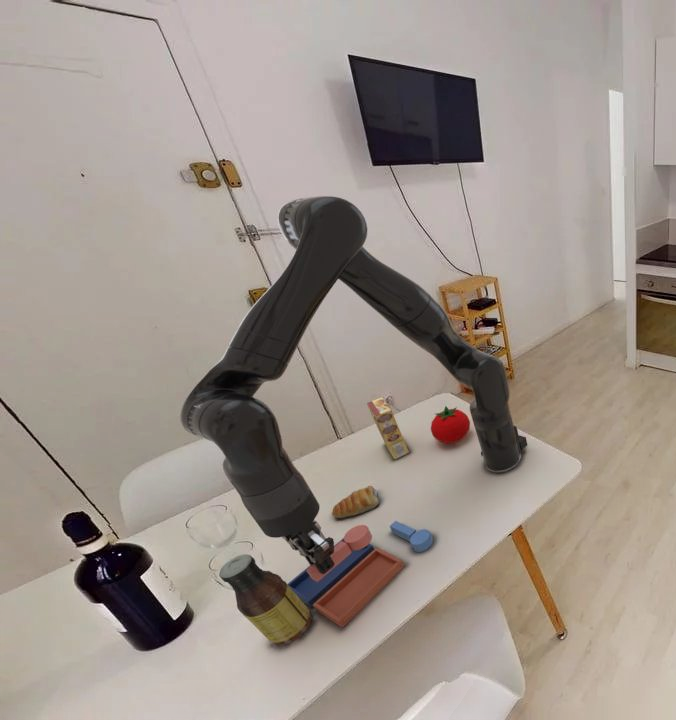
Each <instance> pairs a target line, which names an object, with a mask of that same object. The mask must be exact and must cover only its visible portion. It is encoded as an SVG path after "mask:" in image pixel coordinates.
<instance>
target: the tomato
mask: <svg viewBox="0 0 676 720" xmlns="http://www.w3.org/2000/svg"><path fill="white" fill-rule="evenodd" d="M457 408H458V406H456V407H454V408H449V407H447V405H445V407H444V409H443V410H442V411H440V412H437V413H435V416H434V418H433V419H432V421H431V424H430V432H431V435H432V437H433V438H434V439H435V440H437V441H438V442H439V443H443V444H454V443H458V442H459V441H460V440H463V438H465V437H466V436H467V434H468V433H469V431H470V427H471V421H470V418H469V417H468V415H467V413H465V412H464V411H462V410H461V409H457Z"/></svg>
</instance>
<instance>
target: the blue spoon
mask: <svg viewBox="0 0 676 720" xmlns="http://www.w3.org/2000/svg"><path fill="white" fill-rule="evenodd" d="M389 528H390V531H391V532H392V534H393V535H395V536H397V537H399V538H401V539H404V540H405V541H408V542H409V543H410V545H411V547H412V550H413V551H414V552H417V553H421V552H425V551H426V550H429V548H430V547H431V546H432V545H433V542H434V538H433V536H432V534H431V532H430V530H429V529H427V528H422V529H418V530H416V529H415V528H412V527H410V526H408V525H407V524H404V523H402V522H400V521H397V520H394V521H393V522H392V523H391V524H390V525H389Z"/></svg>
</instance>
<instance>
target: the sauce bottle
mask: <svg viewBox="0 0 676 720" xmlns="http://www.w3.org/2000/svg"><path fill="white" fill-rule="evenodd" d="M218 575H219V577H220V579H221V580H222V581H223V582H224V583H228V585H229V586H230V587H231V588H232V590H233V592H234V594H235V599H236V608H237V610H238V611H239V612H240V613H241V614H242V615H243V616H244V617H245V618H246V619H247V621H249V622H250V623H251V624H252V625H253V626H254V627H255V628H256V629H257V630H258V632H260V633H261V634H262V635H263V636H264V637H265V638H266V639H267V640H268V641H269V642H271V643H273V644H275V645H279V646H283V645H288V644H290V643H292V642H294V641H296V640H297V639H299V638H300V637H301V636H302V635H304V633H305V632H306V631H307V630H308V628H309V627H310V625H311V623H312V619H313V618H312V613H311V611H310V609H309V608H308V607H307V604H305V603H303V602H302V601H301V600H300V598H299V597H298V596H297V595H296V594H295V593H294V591H293V590H292V589H291V588H290V587H289V585H288V583H287V581H285V580H283V579H282V577H281V576H280V575H279V574H277V573H274V572H272V571H270V570H263V569H262V568H260V567H259V566H258V565H257V563H256V560H255V558H254V557H253V556H252V555H250V554H248V553H247V554H245V553H244V554H241V555H237V556H235V557H233V558H232V559H230V560H229V561H227V562H226V563H225V564H224V565H222V566H221V568H220V569H219V574H218Z"/></svg>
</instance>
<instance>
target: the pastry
mask: <svg viewBox="0 0 676 720" xmlns="http://www.w3.org/2000/svg"><path fill="white" fill-rule="evenodd" d="M377 496H378V492H377V490H376V489H375V488H374V486H372V485H368V486H367V487H363V488H360V489H358V490H354V491H353V492H351V494H349V495H348V496H347V497H345V498H343V499H341V500H340V501H339V502H338V503H336V504H335V505H334V506H333V508H332V512H331V515H332V517H335V518H338V519H344V518H349V517H355V516H358V515H360V514H363V513H365V512H367V511H371V510H373V509H375V508H376V507H377V506H378V505H379V499H378V497H377Z"/></svg>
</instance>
